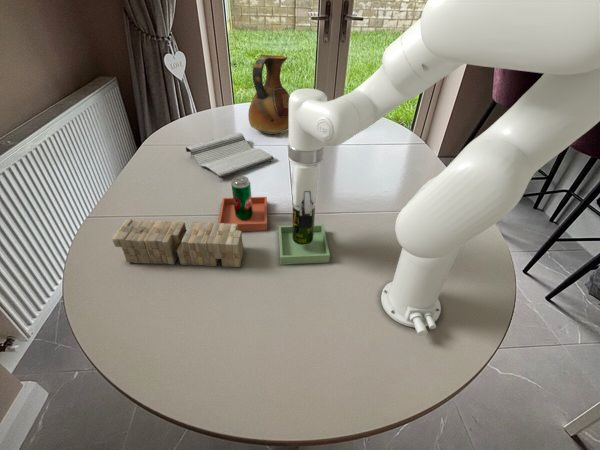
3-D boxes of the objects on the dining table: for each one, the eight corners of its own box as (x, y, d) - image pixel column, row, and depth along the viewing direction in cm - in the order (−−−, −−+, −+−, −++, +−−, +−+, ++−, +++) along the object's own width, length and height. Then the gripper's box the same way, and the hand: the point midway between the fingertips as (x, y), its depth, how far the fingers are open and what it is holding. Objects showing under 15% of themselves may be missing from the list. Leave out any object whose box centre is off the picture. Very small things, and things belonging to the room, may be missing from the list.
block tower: (245, 249, 88) (134, 241, 88) (243, 224, 82) (126, 216, 82) (239, 270, 81) (121, 262, 81) (237, 245, 76) (110, 236, 76)
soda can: (249, 222, 94) (246, 186, 87) (232, 219, 95) (228, 183, 88) (255, 211, 98) (252, 176, 91) (238, 209, 99) (234, 174, 92)
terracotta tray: (267, 230, 93) (266, 223, 91) (218, 232, 92) (217, 225, 90) (266, 203, 103) (266, 196, 101) (223, 204, 102) (222, 197, 100)
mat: (220, 182, 112) (218, 170, 109) (187, 157, 125) (184, 146, 122) (274, 161, 124) (273, 150, 121) (239, 141, 138) (237, 130, 135)
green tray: (329, 262, 83) (330, 255, 82) (280, 264, 82) (280, 257, 81) (322, 231, 93) (323, 224, 91) (279, 232, 92) (278, 225, 90)
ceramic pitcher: (302, 127, 150) (304, 54, 132) (277, 142, 137) (275, 64, 118) (267, 117, 158) (264, 47, 140) (240, 131, 145) (233, 56, 126)
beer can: (296, 231, 89) (297, 193, 81) (315, 235, 87) (318, 197, 80) (289, 243, 85) (289, 205, 77) (309, 248, 83) (311, 210, 76)
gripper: (286, 135, 77) (286, 200, 88) (290, 172, 63) (290, 243, 75) (318, 134, 77) (314, 199, 89) (329, 171, 64) (323, 241, 75)
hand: (303, 218), depth 82 cm, fingers closed on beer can, 5 cm apart
